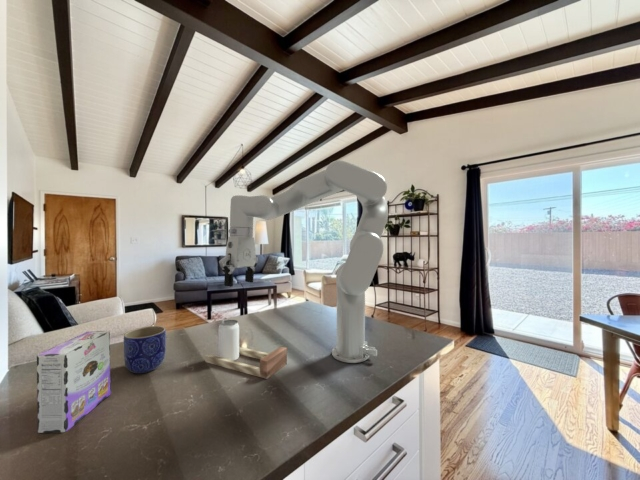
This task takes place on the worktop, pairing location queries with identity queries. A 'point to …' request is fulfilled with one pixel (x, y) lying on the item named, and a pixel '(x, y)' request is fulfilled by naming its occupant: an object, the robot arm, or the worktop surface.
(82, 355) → the candy box
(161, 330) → the planter
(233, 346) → the can
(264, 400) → the worktop surface
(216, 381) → the worktop surface
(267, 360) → the rail channel
